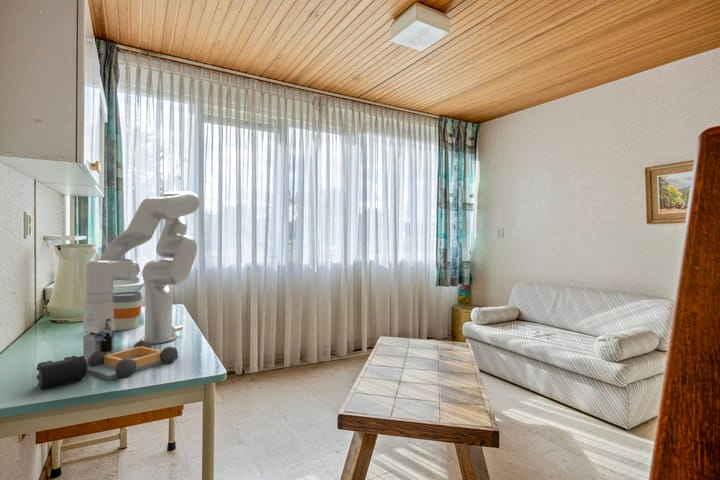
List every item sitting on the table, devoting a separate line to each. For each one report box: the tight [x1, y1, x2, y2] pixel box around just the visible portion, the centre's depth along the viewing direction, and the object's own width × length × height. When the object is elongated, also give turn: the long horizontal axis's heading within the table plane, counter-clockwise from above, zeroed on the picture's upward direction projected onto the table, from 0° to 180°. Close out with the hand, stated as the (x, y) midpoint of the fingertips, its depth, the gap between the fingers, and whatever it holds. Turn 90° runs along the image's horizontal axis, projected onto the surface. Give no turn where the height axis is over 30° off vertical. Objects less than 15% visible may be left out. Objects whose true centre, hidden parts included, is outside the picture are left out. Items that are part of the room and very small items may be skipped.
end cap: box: [36, 355, 88, 390], centre depth 105 cm, size 10×7×7 cm
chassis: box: [86, 340, 179, 381], centre depth 120 cm, size 22×16×5 cm
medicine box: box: [82, 330, 115, 363], centre depth 126 cm, size 8×4×9 cm, turn 168°
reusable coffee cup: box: [112, 291, 143, 331], centre depth 167 cm, size 13×13×15 cm
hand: (99, 350), depth 126 cm, fingers open, 7 cm apart
